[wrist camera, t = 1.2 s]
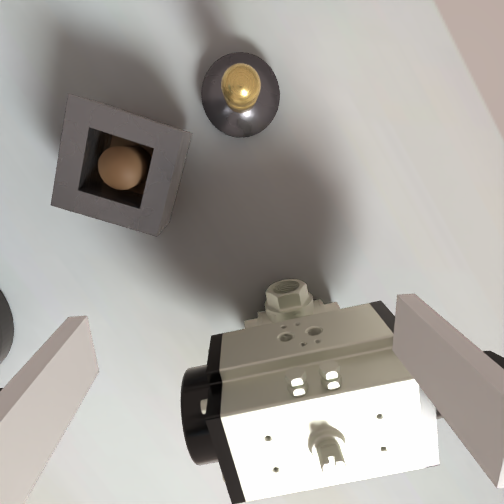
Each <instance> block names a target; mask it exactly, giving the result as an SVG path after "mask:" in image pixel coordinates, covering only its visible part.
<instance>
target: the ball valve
mask: <svg viewBox="0 0 504 504" xmlns="http://www.w3.org/2000/svg"><path fill="white" fill-rule="evenodd" d="M265 293H266V297H267V300H266V302H265V309H266V311H261V312H258V318H256V319H251V320H246V321H245V322H244V325H245V329H241V330H236V331H231V332H226V333H222V334H217V335H212V336H211V340H210V347H209V350H208V353H209V354H208V361H207V365H202V366H197V367H192V368H189V369H187V370H186V372H185V374H184V376H183V380H182V386H181V417H182V425H183V432H184V437H185V441H186V445H187V448H188V451H189V454H190V456H191V458H192V460H193V462H194V463H195V464H197V465H204V464H210V463H215V462H219V464H220V468H221V471H222V476H223V480H224V482H225V483H226V486H227V490H228V493H229V496H230V499H231V502H232V504H237V503H242V502H248V501H253V500H258V499H263V498H269V497H274V496H279V495H285V494H290V493H295V492H300V491H306V490H311V489H316V488H321V487H327V486H332V485H337V484H342V483H348V482H353V481H358V480H363V479H369V478H374V477H379V476H384V475H390V474H395V473H400V472H405V471H411V470H416V469H421V468H426V467H432V466H437V465H439V452H438V436H437V420H436V419H441V418H443V417H442V415H441V414H440V413H439V411H438V410H437V409H436V407H435V406H434V405H433V403H432V402H431V401H430V399H429V398H428V397H427V395H426V394H425V393H424V391H423V390H422V389H421V388H420V386H419V385H418V384H417V382H416V381H415V380H414V378H413V377H412V376H411V374H410V373H409V372H408V370H407V369H406V368H405V366H404V365H403V364H402V362H401V361H400V360H399V358H398V357H397V356H396V355H395V353H394V352H393V351H392V347H393V336H394V325H395V316H394V315H393V314H392V313H391V312H390V310H389V309H388V308H387V307H386V306H385V305H384V304H383V302H382V301H377V302H371V303H367V304H362V305H357V306H352V307H347V308H342V309H340V307H339V305H338V303H337V302H333V303H328V304H323V302H322V300H321V299H319V300H314V301H313V297H312V294H311V293H309V292H308V290H307V284H306V283H304V282H303V281H301V280H298V279H285V280H281V281H278V282H275V283H273V284H272V285H270V286H269V288H268V289H267V291H266V292H265Z"/></svg>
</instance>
